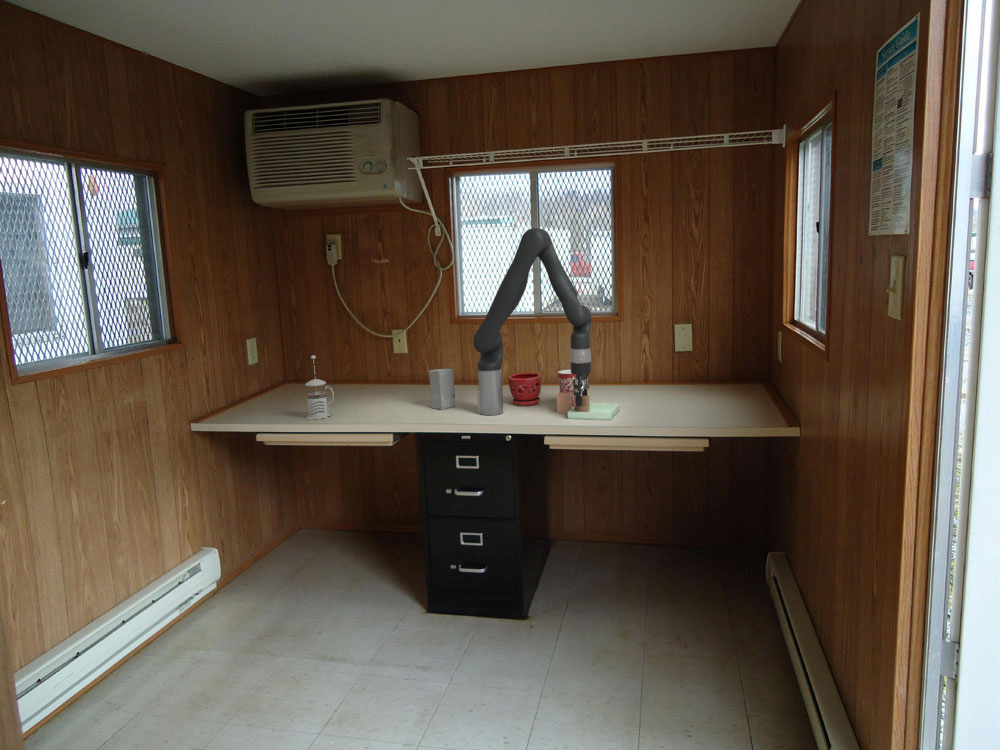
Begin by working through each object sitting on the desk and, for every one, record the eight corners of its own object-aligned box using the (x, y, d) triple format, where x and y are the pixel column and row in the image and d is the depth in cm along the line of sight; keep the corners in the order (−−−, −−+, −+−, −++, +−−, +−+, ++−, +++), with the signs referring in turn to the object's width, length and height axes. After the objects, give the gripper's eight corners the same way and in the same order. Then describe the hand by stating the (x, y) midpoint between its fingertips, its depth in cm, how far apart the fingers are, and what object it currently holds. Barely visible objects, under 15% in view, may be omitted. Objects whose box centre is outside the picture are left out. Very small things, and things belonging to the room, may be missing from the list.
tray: (567, 418, 268) (567, 411, 268) (578, 409, 283) (578, 402, 282) (610, 420, 263) (610, 413, 262) (619, 410, 277) (619, 404, 277)
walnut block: (574, 416, 269) (574, 397, 268) (577, 413, 273) (577, 395, 272) (586, 416, 267) (586, 398, 266) (589, 414, 271) (589, 395, 270)
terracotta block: (557, 412, 280) (556, 394, 278) (560, 410, 284) (560, 392, 282) (568, 412, 278) (568, 394, 277) (571, 410, 282) (571, 392, 281)
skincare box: (441, 410, 293) (439, 371, 291) (429, 408, 298) (427, 370, 296) (456, 406, 300) (454, 368, 297) (445, 404, 304) (442, 367, 302)
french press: (308, 415, 296) (302, 354, 292) (337, 413, 297) (331, 352, 293) (304, 420, 287) (298, 357, 282) (334, 418, 288) (328, 355, 283)
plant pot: (516, 400, 306) (514, 372, 304) (545, 401, 301) (544, 372, 299) (505, 406, 294) (503, 377, 292) (536, 407, 289) (534, 378, 287)
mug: (558, 407, 289) (557, 373, 286) (558, 402, 298) (557, 369, 295) (590, 406, 288) (589, 372, 285) (589, 401, 296) (589, 368, 294)
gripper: (575, 357, 275) (576, 399, 277) (565, 363, 261) (566, 407, 264) (595, 357, 272) (596, 400, 275) (586, 363, 259) (587, 408, 262)
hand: (581, 403), depth 269 cm, fingers open, 8 cm apart
